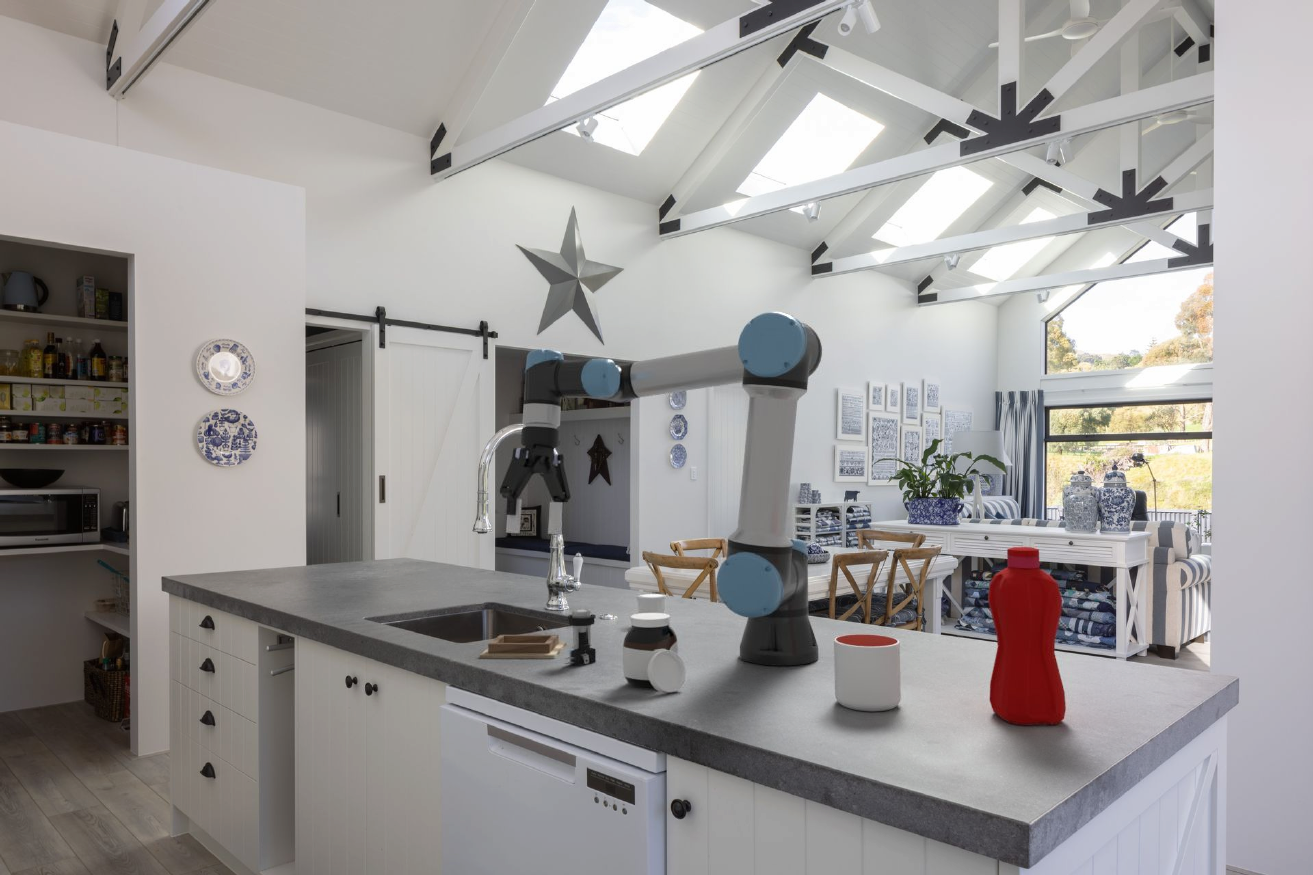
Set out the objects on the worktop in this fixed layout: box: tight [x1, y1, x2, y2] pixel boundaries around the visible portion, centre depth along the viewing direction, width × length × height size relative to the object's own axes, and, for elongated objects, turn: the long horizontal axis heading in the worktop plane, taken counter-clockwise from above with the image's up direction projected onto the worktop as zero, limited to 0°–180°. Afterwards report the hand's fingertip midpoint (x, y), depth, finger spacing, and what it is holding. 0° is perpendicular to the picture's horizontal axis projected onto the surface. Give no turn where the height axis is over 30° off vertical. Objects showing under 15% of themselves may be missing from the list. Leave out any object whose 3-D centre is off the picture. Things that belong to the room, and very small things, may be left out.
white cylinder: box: [636, 592, 667, 614], centre depth 206 cm, size 7×7×7 cm
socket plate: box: [478, 634, 567, 659], centre depth 179 cm, size 13×15×2 cm
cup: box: [833, 633, 902, 712], centre depth 137 cm, size 10×10×10 cm
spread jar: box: [622, 613, 687, 694], centre depth 150 cm, size 12×11×12 cm
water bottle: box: [987, 546, 1067, 726], centre depth 130 cm, size 9×11×25 cm
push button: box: [564, 608, 597, 667], centre depth 167 cm, size 7×5×10 cm
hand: (534, 533), depth 174 cm, fingers open, 13 cm apart
